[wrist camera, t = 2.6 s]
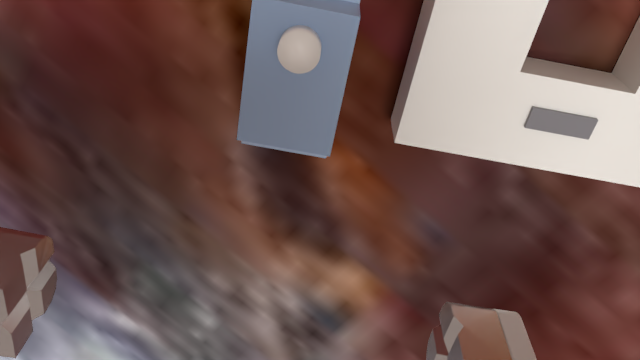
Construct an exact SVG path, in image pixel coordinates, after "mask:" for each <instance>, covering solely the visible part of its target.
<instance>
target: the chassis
mask: <svg viewBox="0 0 640 360" xmlns="http://www.w3.org/2000/svg"><path fill="white" fill-rule="evenodd" d="M548 1H549V0H424V1H423V5H422V8H421V12H420V15H419V19H418V23H417V26H416V30H415V33H414V37H413V41H412V44H411V48H410V51H409V55H408V59H407V62H406V66H405V69H404V73H403V77H402V80H401V84H400V87H399V91H398V95H397V98H396V102H395V106H394V109H393V113H392V116H391V125H392V131H393V138H394V143H398V144H404V145H409V146H415V147H420V148H426V149H431V150H437V151H442V152H448V153H453V154H459V155H465V156H470V157H476V158H481V159H487V160H492V161H498V162H503V163H509V164H514V165H520V166H525V167H531V168H536V169H542V170H547V171H553V172H558V173H564V174H569V175H575V176H580V177H586V178H591V179H597V180H602V181H608V182H613V183H619V184H624V185H630V186H636V187H640V16H639V18H638V20H637V22H636V24H635V27H634V29H633V31H632V33H631V35H630V37H629V39H628V41H627V43H626V45H625V47H624V49H623V51H622V53H621V55H620V57H619V59H618V61H617V63H616V65H615V67H614V69H613V71H612V73H608V72H603V71H598V70H593V69H587V68H582V67H577V66H572V65H567V64H562V63H556V62H551V61H546V60H541V59H536V58H531V57H526V56H527V54H528V51H529V49H530V46H531V44H532V41H533V39H534V36H535V34H536V31H537V29H538V26H539V24H540V21H541V19H542V16H543V14H544V11H545V9H546V6H547V4H548Z"/></svg>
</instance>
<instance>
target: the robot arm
mask: <svg viewBox="0 0 640 360" xmlns="http://www.w3.org/2000/svg"><path fill="white" fill-rule="evenodd" d="M53 253H54V247H53V241H52V239H51V238H50V237H48V236H44V235H39V234H34V233H28V232H23V231H18V230H13V229H7V228H2V227H0V356H5V357H13V358H16V356H17V355H18V353H19V352H20V350H21V349H22V347H23V346H24V344H25V343H26V341H27V340H28V338H29V336H30V335H31V333H32V332H33V327H32V320H33V319H35V318H37V317H39V316H41V315H43V314H44V313H45V311H46V310H47V308H48V306H49V305H50V303H51V301H52V298H53V295H54V292H55V289H56V282H57V272H56V268H55V267H54V265H53V264H52V263H51V262H50V261H49V259H50V257H51V256H52V254H53ZM439 317H440V322H441V325H439V326H437V327H436V328H434V329H433V330H432V333H431V335H430V338H429V341H428V347H427V360H537V359H536V356H535V354H534V351H533V348H532V346H531V343H530V340H529V338H528V335H527V332H526V330H525V327H524V324H523V322H522V319H521V316H520V315H519V314H518V313H517V312H512V311H505V310H498V309H490V308H484V307H477V306H471V305H464V304H458V303H452V302H446V303H445V304H444V305H443V307H442V309H441V311H440V314H439Z"/></svg>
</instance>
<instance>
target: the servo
mask: <svg viewBox="0 0 640 360" xmlns="http://www.w3.org/2000/svg"><path fill="white" fill-rule="evenodd" d="M360 17H361V16H360V0H252V6H251V15H250V24H249V33H248V42H247V51H246V60H245V69H244V78H243V87H242V96H241V105H240V114H239V123H238V132H237V140H240V141H241V143H242V144H248V145H253V146H259V147H265V148H270V149H276V150H281V151H287V152H293V153H298V154H304V155H310V156H315V157H321V158H326V157H327V156H330V154H331V149H332V145H333V140H334V136H335V131H336V126H337V122H338V117H339V113H340V108H341V104H342V99H343V95H344V90H345V85H346V81H347V76H348V72H349V67H350V63H351V58H352V54H353V49H354V45H355V40H356V35H357V31H358V26H359V22H360Z"/></svg>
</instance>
